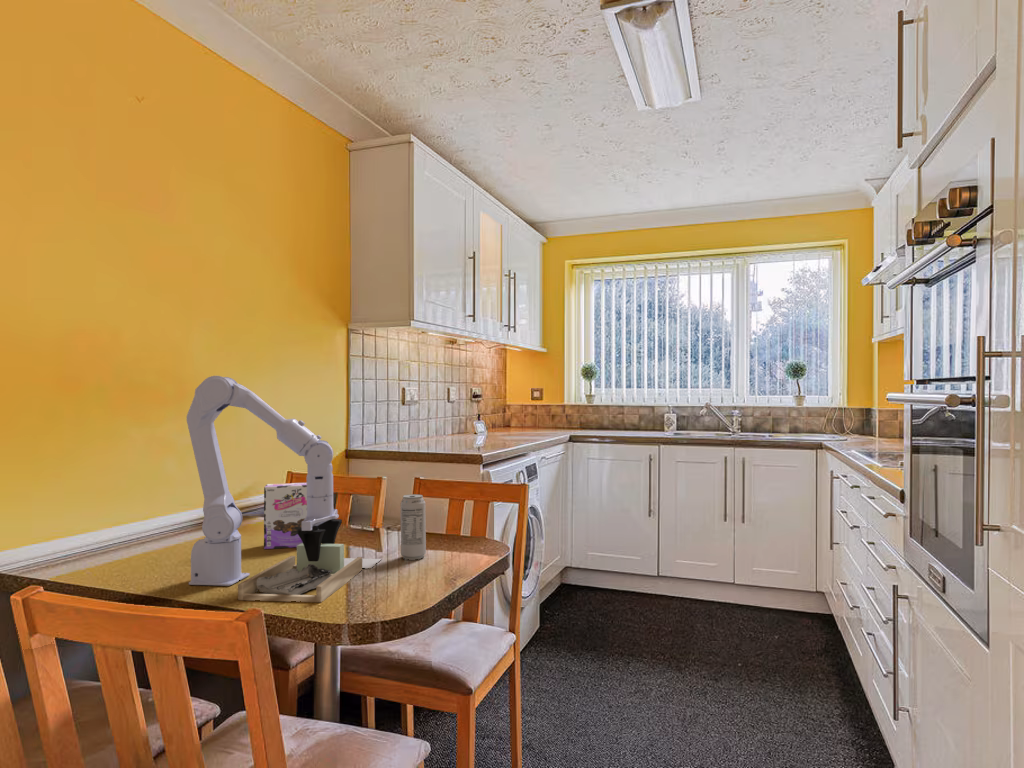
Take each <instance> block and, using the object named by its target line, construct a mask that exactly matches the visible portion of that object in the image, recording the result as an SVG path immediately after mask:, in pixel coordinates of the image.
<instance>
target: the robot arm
mask: <svg viewBox="0 0 1024 768" xmlns="http://www.w3.org/2000/svg"><path fill="white" fill-rule="evenodd" d="M189 406H190V407H189V409H188V412H187V413H186V423H187V428H188V431H189V438H190V441H191V445H192V450H193V454H194V459H195V464H196V467H197V471H198V477H199V480H200V484H201V490H202V494H203V498H204V500H203V506H202V512H203V522H202V525H201V529H202V533H203V535H204V538H202V539H198V540H197V541H195V543H194V544H193V545H192V548H191V552H190V553H191V554H190V581H188V585H191V586H223V587H224V586H226V587H228V586H231V585H234V584H235V583H237V582H239V580H240V581H241V580H244V579H245V578H247V577H249V576H250V572H242V534H241V533H240V532H239V528H240V527H241V525H242V522H243V514H242V511H241V510H240V509H239V508H238V507H237V504H236V503H235V499H234V497H233V495H232V494H231V492H230V490H229V489H230V488H229V485H228V484H229V483H228V479H227V476H226V471H225V470H226V469H225V466H224V463H223V458H222V452H221V448H220V444H219V440H218V435H217V431H216V427H215V421H216V420H217V418H218V417H219V416H220V415H221V413H222V412H223V411H224V410H225V409H226V408H228V407H229V406H230V407H234V408H235V407H236V408H242V409H245V410H247V411H249V412H250V413H252V414H253V415H254V416H256V417H257V418H258V419H260V420H261V421H263V422H264V423H265V424H266V425H268V426H269V427H271V428H273V430H275V432H276V438H277V440H278V441H280V442H281V443H282V444H284V446H286V447H287V448H289V449H290V450H292V452H294V454H296V455H298V456H299V457H303V458H304V462H305V463H306V465H307V466H306V467H307V474H306V483H307V516H306V517H305V519H304V521H302V528H300V529H298V530H297V532H298V535H299V537H300V538H301V540H302V542H303V544H304V547H305V551H306V555H307V558H308V561H318V560H319V556H320V547H321V544H336V543H335V542H336V538H337V534H338V532H339V529H340V527H341V524H342V523H343V522H342V520H343V519H341V518H339V516H340V515H339V514H338V509H337V508H336V509H335V508H334V474H333V469H334V468H333V464H332V461H333V459H334V449H333V448H332V445H330V443H329V442H328V441H327V440H322V438H323V437H322V436H321V435H320V434H315V433H314V432H312V431H311V430H310V429H309V428H307V426H305V425H306V423H305V421H303V420H302V419H300V420H297V419H296V418H285V417H284V416H283V415H281V414H280V413H279V412H278V411H277V410H276V409H274V408H273V407H272V406H270V405H269V404H268V403H267V402H266V401H264V400H263V399H262V398H261V397H260V396H259V395H257V394H256V393H255V392H254V391H252V390H251V389H249V388H247V387H246V386H245V385H242V384H240V383H238V382H237V381H236V380H235V379H234V378H231V377H228V376H220V375H211V376H208V377H206V378H205V379H204V380H203V381H202V382H201V383H200V384H199V385H198V386H197V387H196V388H195V390H194V396H193V399H192V401H191V404H190V405H189ZM317 527H318V528H317Z"/></svg>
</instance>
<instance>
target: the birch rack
mask: <svg viewBox="0 0 1024 768" xmlns="http://www.w3.org/2000/svg"><path fill="white" fill-rule="evenodd" d="M362 558H363V557H362V556H357V557H356V559H355V560H353V561H352V562H350V563H349V564H347V565H346V566H344V567H343V568H342V569H340V570H339V571H338V572H336V573H335V574H330V575H331V576H330V577H329V578H328V579H326V580H325V581H323V582H322V583H321V584H319V585H318V586H316V588H315V590H316V593H315V594H316V595H315V594H311V595H310V594H299V595H288V594H270V593H257V592H259V591H258V590H259V589H258V587H257V579H258V578H260V577H271V576H273V577H274V576H275V575H276V574H277V573H280V572H281V573H282V572H283V573H284V572H286V571H288V570H290V569H293V568H294V569H297V564H296V555H289V556H288V557H286V558H284V559H282V560H281V561H278V562H276V563H275V564H273V565H271V566H269V567H268V568H266V569H264V570H263V571H261V572H258V573H256V574H254V575H253V576H251V577H249V578H247V579H246V580H244V581H242V582H240V583H239V584H237V600H238V601H255V600H260V601H261V602H262V601H263V602H291V601H296V602H299V603H323V602H324V601H325V600H327V599H328V598H329V597H330V596H331V595H333V594H334V593H335V592H337V591H338V590H339V589H340V588H342V587H343V586H345V585H346V584H347V583H348V582H349V581H351V580H352V579H354V576H355V575H356V576H357V575H358V574H360V573H361V572H362V571H363V569H362ZM361 570H362V571H361ZM360 571H361V572H360ZM359 572H360V573H359ZM307 576H309V574H308V575H307ZM356 576H355V577H356ZM350 579H351V580H350ZM255 592H256V593H255ZM260 601H259V602H260ZM300 601H301V602H300ZM322 601H323V602H322Z"/></svg>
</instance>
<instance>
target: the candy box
mask: <svg viewBox="0 0 1024 768" xmlns="http://www.w3.org/2000/svg"><path fill="white" fill-rule="evenodd" d="M263 490H264V491H263V493H264V495H263V549H264V550H271V549H272V550H273V549H285V548H286V549H287V548H291V549H292V548H297V545H299V544H301V543H303V542H302V540H301V538H300V537H299V535H298V532H297V530H298V529H300V528H302V521H304V519H305V517H306V516H307V482H291V483H267V484H265V486H264V487H263ZM317 528H318V527H317Z"/></svg>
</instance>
